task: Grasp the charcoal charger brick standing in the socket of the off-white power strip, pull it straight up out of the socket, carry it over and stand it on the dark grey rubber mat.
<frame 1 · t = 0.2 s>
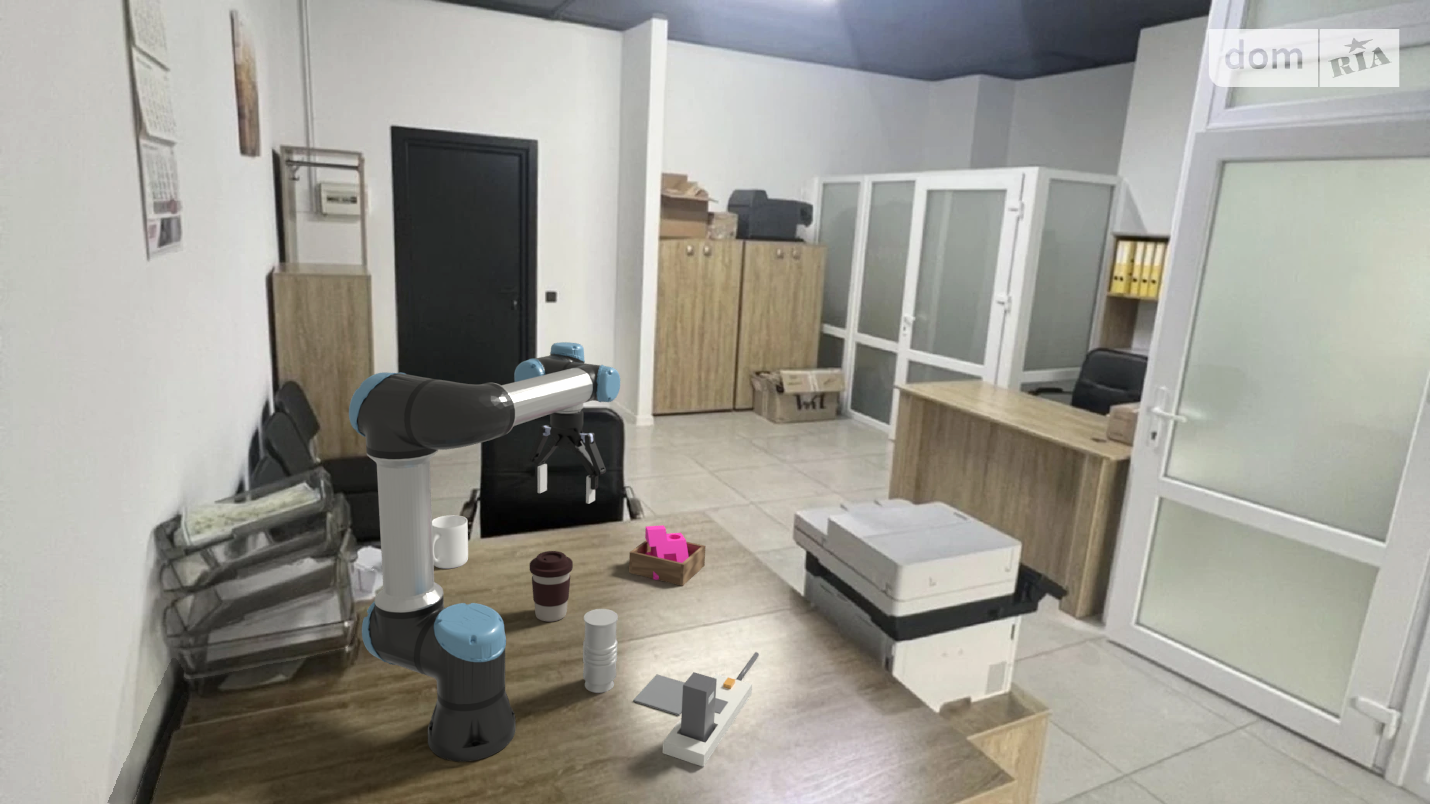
hand: (566, 496, 182), 28 cm above the table, fingers open, 13 cm apart
bracket: (667, 569, 210), resting in display box
mug: (448, 564, 206), on the table
mat: (667, 695, 153), on the table
power strip: (709, 721, 146), on the table
display box: (667, 569, 210), on the table
grey ribbed canister: (599, 684, 156), on the table
charger: (696, 740, 140), resting in power strip
coffee cup: (550, 615, 182), on the table
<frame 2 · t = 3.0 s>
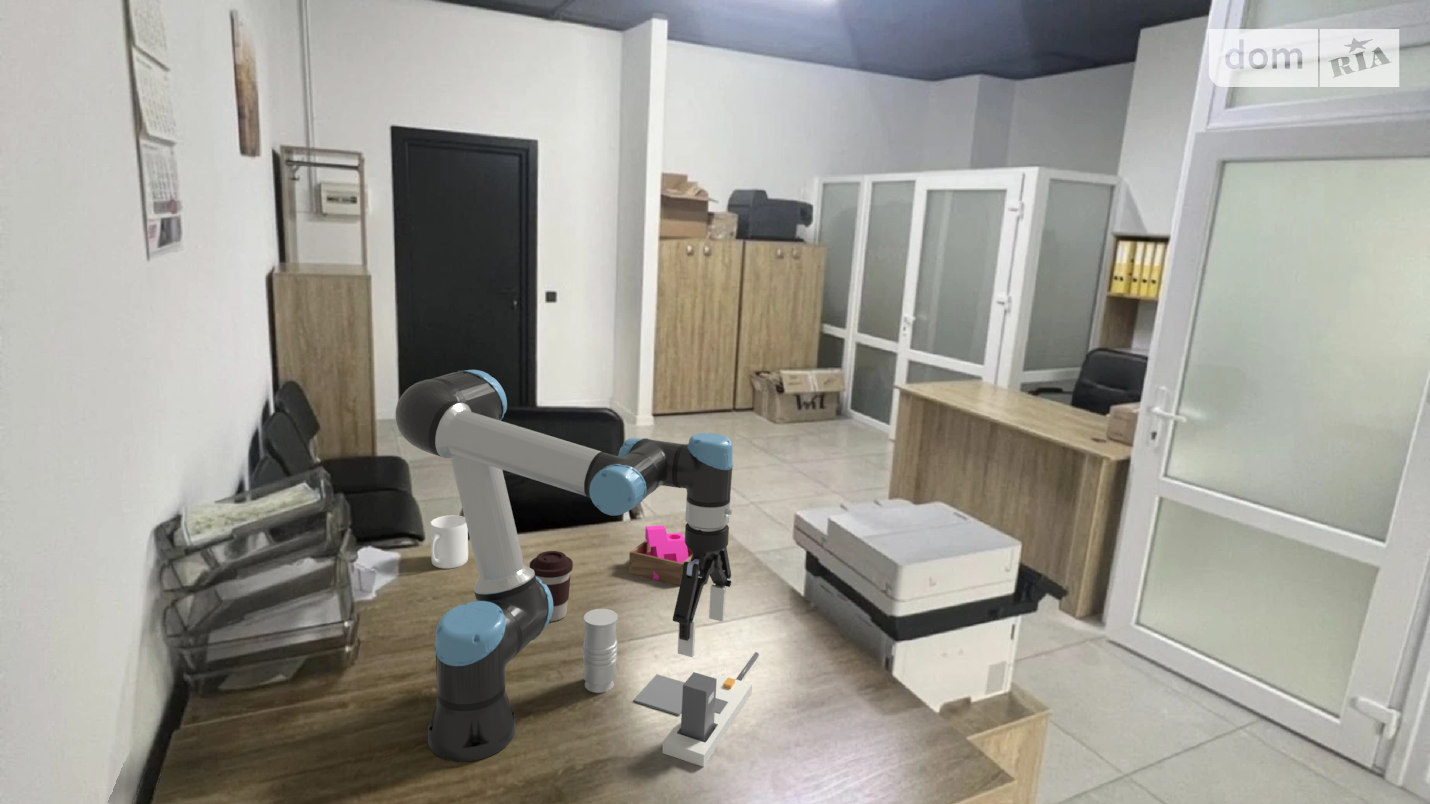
hand: (701, 636, 136), 21 cm above the table, fingers open, 13 cm apart
nothing on the table moved.
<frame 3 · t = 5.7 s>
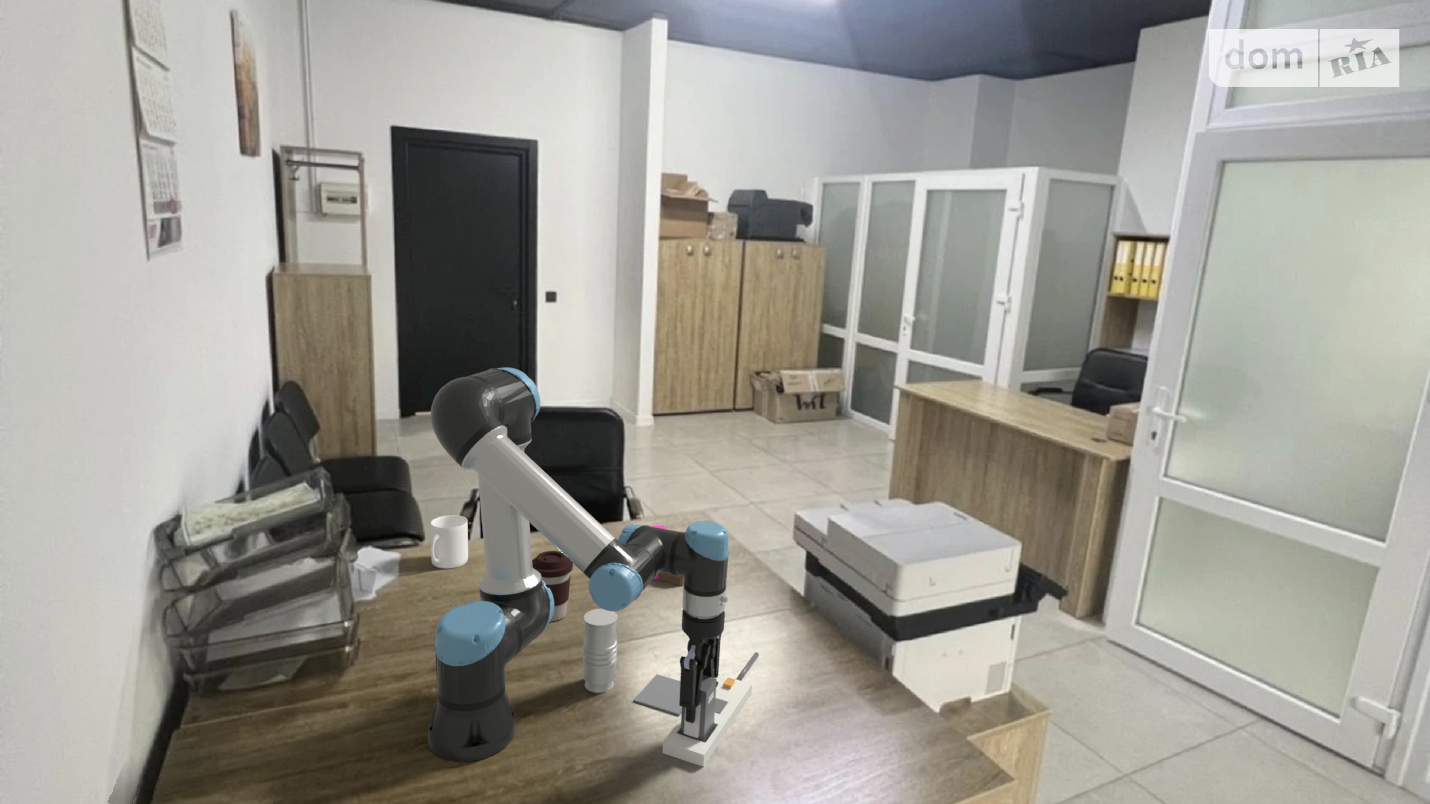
hand: (697, 726, 140), 3 cm above the table, fingers closed on charger, 5 cm apart
charger: (696, 740, 140), resting in power strip, touching gripper
everything else where it was.
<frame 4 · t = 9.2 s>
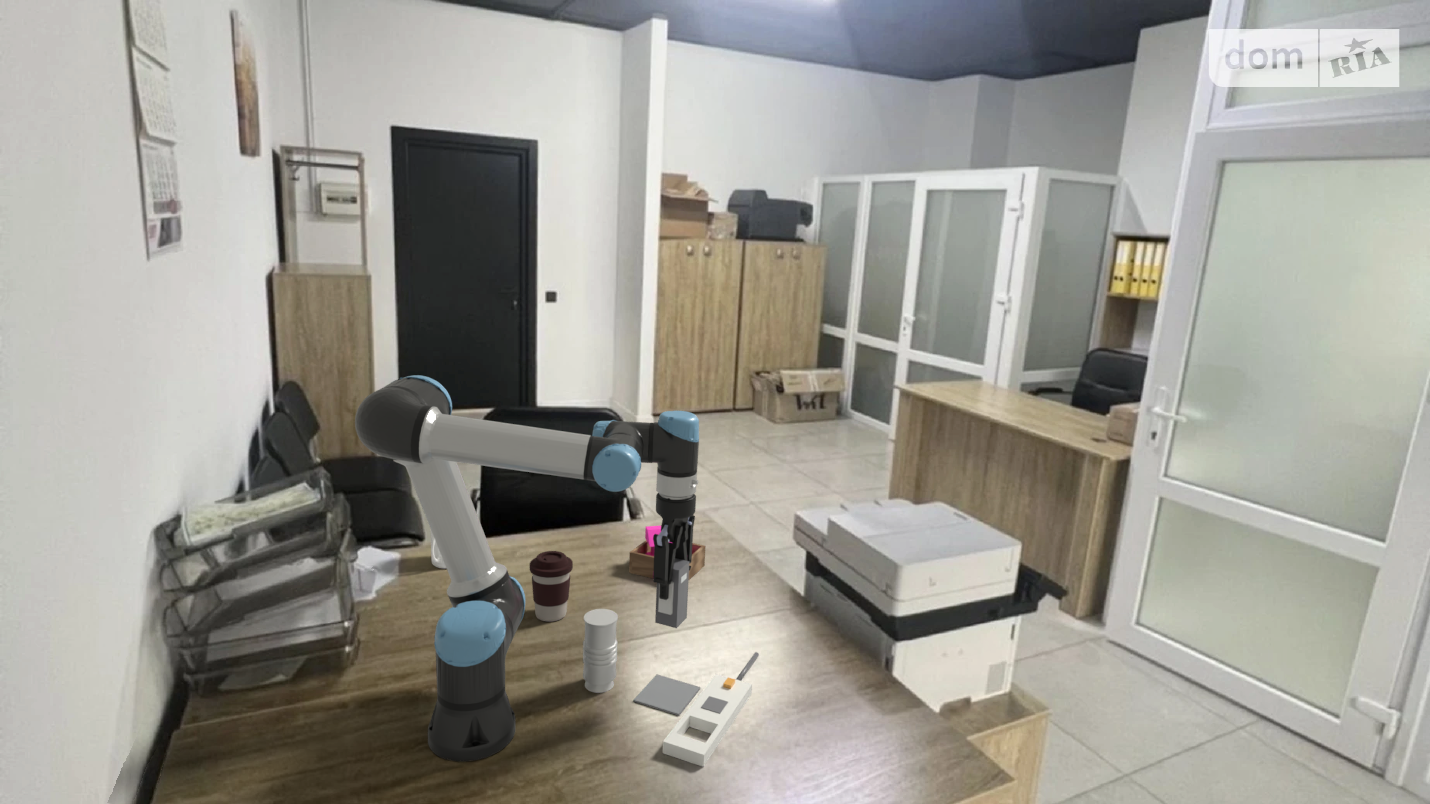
hand: (671, 606, 149), 19 cm above the table, fingers closed on charger, 5 cm apart
charger: (671, 620, 150), point 16 cm above the table, touching gripper
everything else where it was.
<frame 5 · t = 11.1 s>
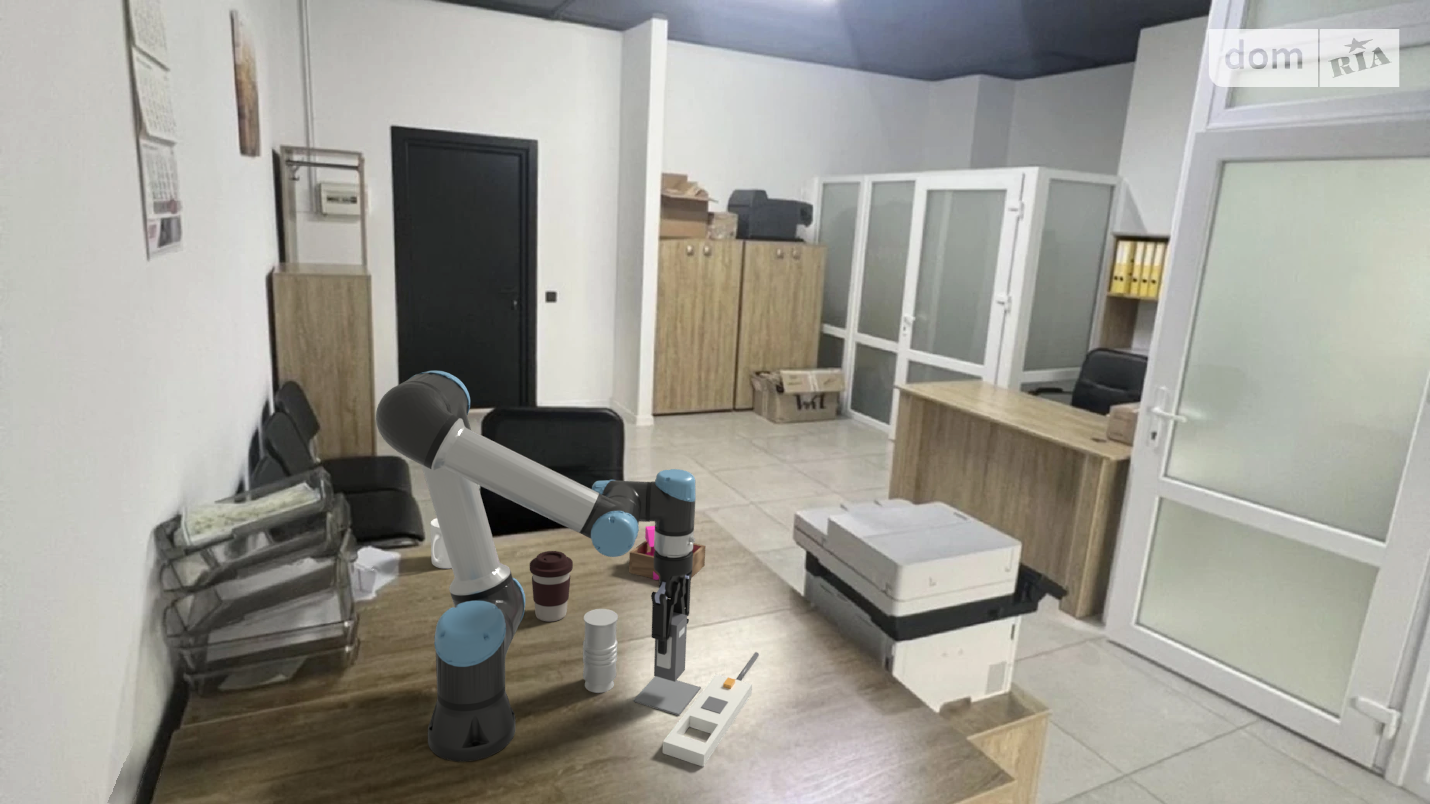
hand: (669, 659, 152), 8 cm above the table, fingers closed on charger, 5 cm apart
charger: (669, 672, 152), point 5 cm above the table, touching gripper
everything else where it was.
when the fingers open (4 cm above the table, at t = 12.6 s): charger stays where it is, resting on mat.
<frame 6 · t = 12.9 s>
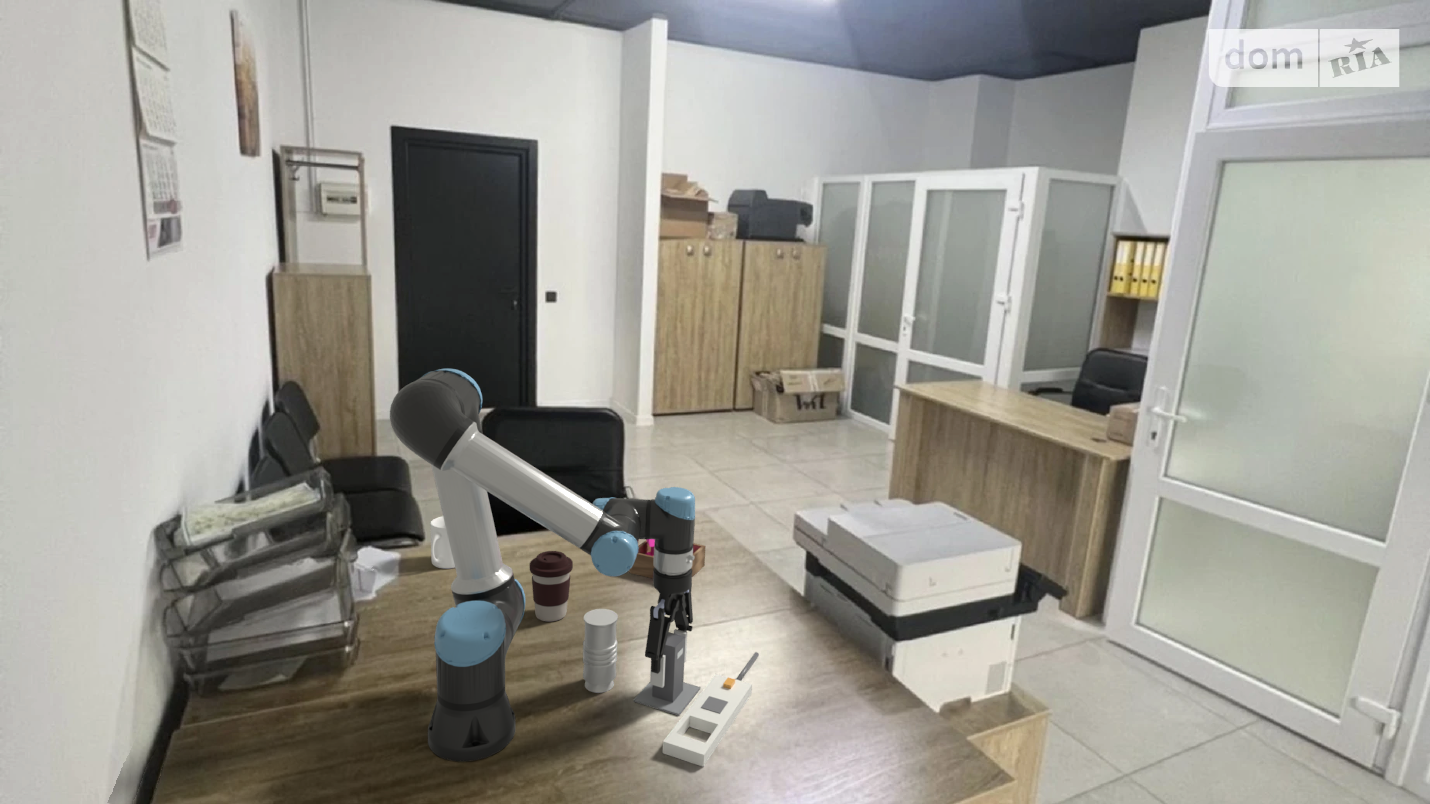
hand: (668, 672, 152), 5 cm above the table, fingers open, 9 cm apart
charger: (667, 693, 153), resting on mat
everything else where it was.
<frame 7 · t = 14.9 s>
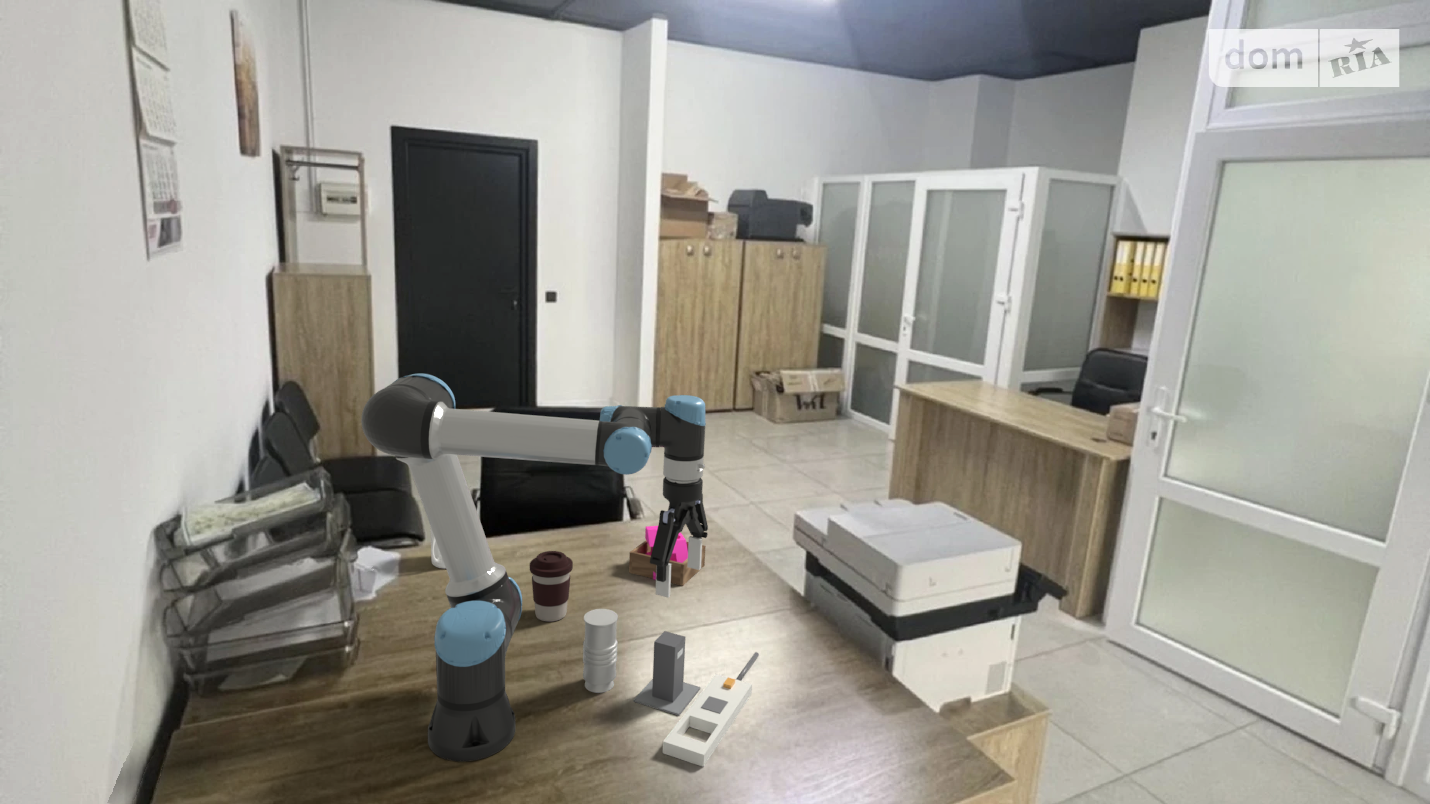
hand: (679, 581, 149), 24 cm above the table, fingers open, 13 cm apart
nothing on the table moved.
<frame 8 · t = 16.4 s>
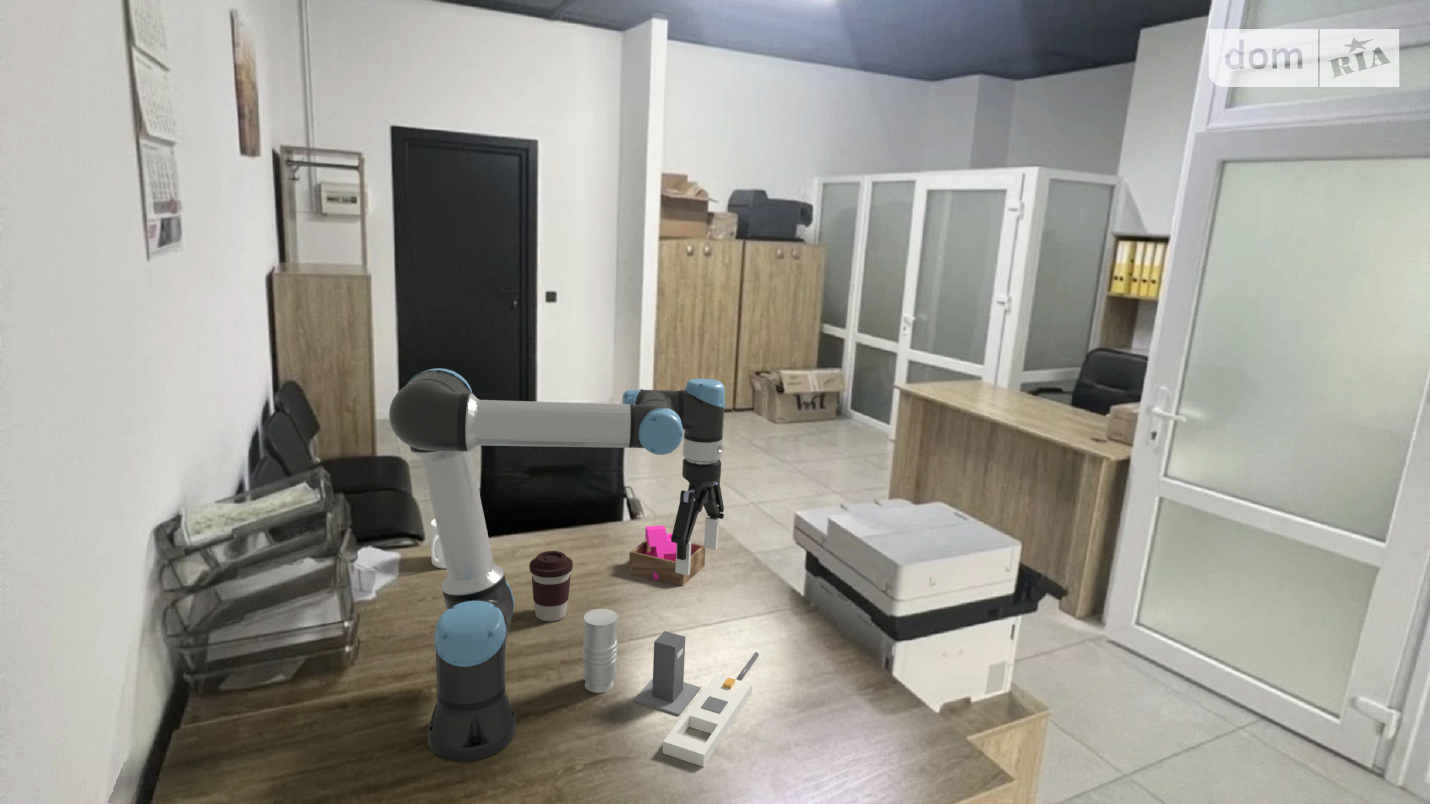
hand: (697, 560, 153), 27 cm above the table, fingers open, 13 cm apart
nothing on the table moved.
at the end: charger inside the target area on the mat (0.0 cm from its centre), point 0.4 cm above the mat's base; charger tilted 0°; the gripper is holding nothing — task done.
